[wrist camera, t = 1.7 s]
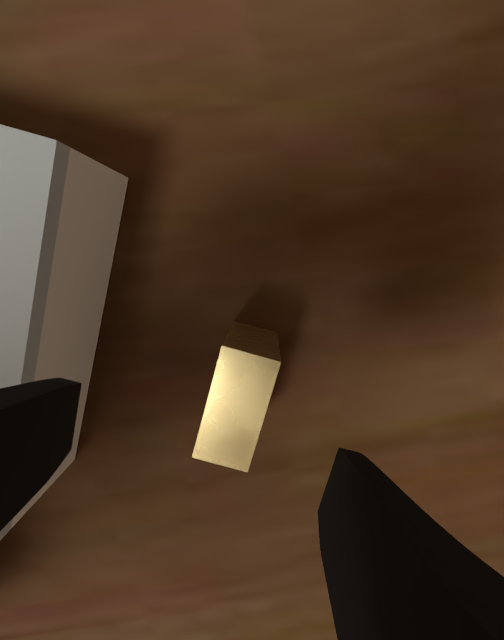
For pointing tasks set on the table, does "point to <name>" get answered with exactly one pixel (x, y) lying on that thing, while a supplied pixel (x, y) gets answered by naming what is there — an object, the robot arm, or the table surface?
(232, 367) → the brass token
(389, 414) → the table surface
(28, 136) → the coin box
